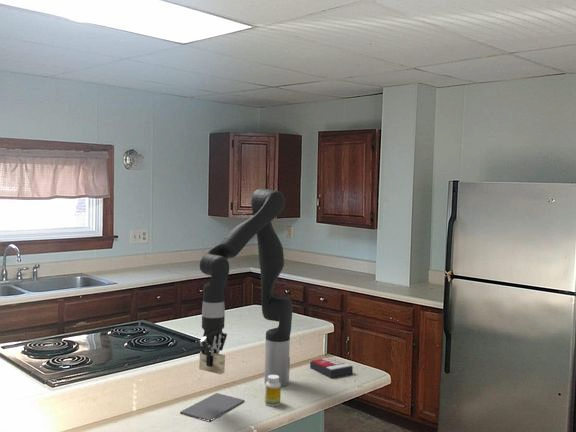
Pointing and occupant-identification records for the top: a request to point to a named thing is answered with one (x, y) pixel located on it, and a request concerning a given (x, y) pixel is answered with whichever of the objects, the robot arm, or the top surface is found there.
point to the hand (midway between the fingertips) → (212, 365)
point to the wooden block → (217, 363)
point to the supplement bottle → (272, 390)
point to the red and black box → (331, 367)
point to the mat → (212, 406)
